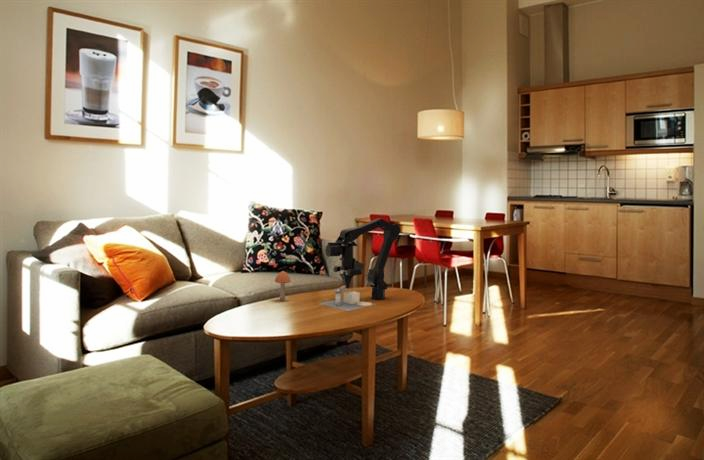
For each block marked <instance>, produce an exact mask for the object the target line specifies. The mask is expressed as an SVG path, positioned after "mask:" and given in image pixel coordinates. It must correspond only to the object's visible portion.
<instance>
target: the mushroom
mask: <svg viewBox="0 0 704 460" xmlns="http://www.w3.org/2000/svg"><path fill="white" fill-rule="evenodd" d="M291 281H292V280H291V277H290V275H289V274H288V273H287V272H286V271H284V270H282V271H280V272H279V273H278V274H277V276H276V277H275V279H274V282H275V283H277V284H280V292H279V301H281V302H284V301H286V291H285V289H286V284H289V283H291Z"/></svg>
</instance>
